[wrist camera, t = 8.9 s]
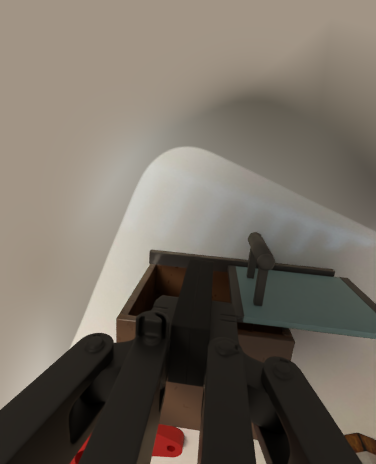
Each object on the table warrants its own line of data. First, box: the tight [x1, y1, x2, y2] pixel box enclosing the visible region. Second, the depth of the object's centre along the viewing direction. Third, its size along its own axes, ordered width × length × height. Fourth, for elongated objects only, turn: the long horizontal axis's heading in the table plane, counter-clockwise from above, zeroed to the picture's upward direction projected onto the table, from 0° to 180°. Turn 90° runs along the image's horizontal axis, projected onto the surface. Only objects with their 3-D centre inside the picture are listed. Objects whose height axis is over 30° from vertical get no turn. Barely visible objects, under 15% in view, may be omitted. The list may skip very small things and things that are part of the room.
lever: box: [70, 424, 184, 464], centre depth 42 cm, size 18×9×7 cm, turn 80°
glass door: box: [227, 232, 376, 339], centre depth 28 cm, size 6×15×11 cm, turn 86°
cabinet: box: [116, 250, 335, 440], centre depth 30 cm, size 13×24×14 cm, turn 86°
